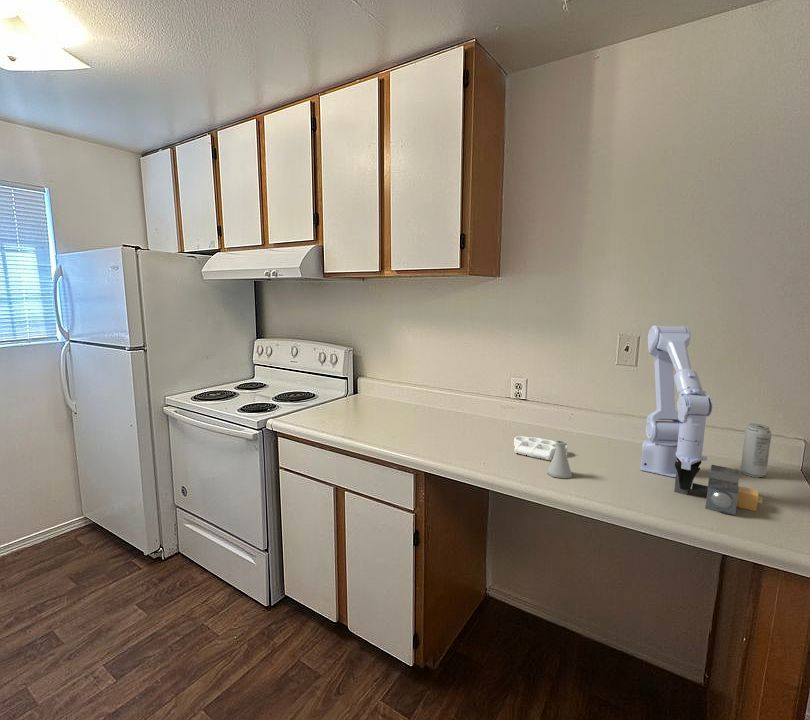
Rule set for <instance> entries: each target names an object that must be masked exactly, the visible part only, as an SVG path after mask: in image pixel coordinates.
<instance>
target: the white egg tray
mask: <svg viewBox="0 0 810 720" xmlns="http://www.w3.org/2000/svg"><path fill="white" fill-rule="evenodd" d="M514 446H515V448H514V450H513V452H514V454H516V453H518V454H517V455H523V456H526V455H527V456H526V457H531V458H537V459H540V458H541V460H546V461H548V460H550V461H552V459H553V458H552V457H554V454H555V451H556V447H557V444H556V441H555V440H552V439H544V438H540V437H530V436H529V437H528V436H524V435H523V436H522V435H521V436H520V435H518V436H515V437H514V439H513V447H514ZM565 449H566V456H567V457H568V444H567V445H566V448H565Z"/></svg>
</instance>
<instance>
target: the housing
mask: <svg viewBox="0 0 810 720" xmlns="http://www.w3.org/2000/svg"><path fill="white" fill-rule="evenodd" d="M739 472H740V471H739V469H737V468H736V469H735V468H731V467H727V466H722V465H716V464H711V467H710V472H709V478H708V483H707V486H708V490H707V493H706V500H705V501H706V502H705V509H707V510H712V511H715V512H719V513H724V514H727V515H731V516H736V512H737V507H736V506H737V498H738V486H739V483H740V482H739Z"/></svg>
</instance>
